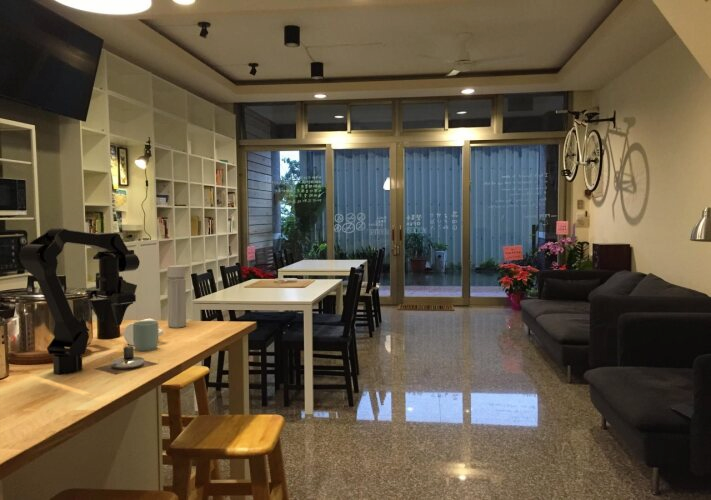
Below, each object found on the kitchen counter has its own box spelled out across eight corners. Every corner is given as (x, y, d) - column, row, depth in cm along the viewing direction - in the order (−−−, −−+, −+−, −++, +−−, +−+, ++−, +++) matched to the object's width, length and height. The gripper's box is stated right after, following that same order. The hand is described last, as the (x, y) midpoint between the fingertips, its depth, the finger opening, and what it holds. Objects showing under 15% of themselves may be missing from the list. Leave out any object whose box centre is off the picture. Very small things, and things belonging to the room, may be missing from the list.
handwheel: (142, 367, 161) (142, 352, 161) (108, 369, 159) (108, 354, 159) (145, 359, 170) (144, 345, 170) (113, 361, 168) (112, 347, 167)
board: (116, 378, 156) (115, 374, 156) (93, 372, 162) (93, 368, 162) (158, 367, 168) (158, 363, 168) (136, 362, 174) (136, 358, 174)
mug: (123, 345, 198) (123, 322, 197) (140, 339, 207) (140, 317, 207) (153, 347, 195) (153, 324, 194) (169, 341, 205) (169, 319, 204)
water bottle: (167, 325, 233) (166, 265, 232) (186, 324, 236) (186, 265, 234) (166, 329, 225) (165, 267, 223) (187, 328, 227) (186, 267, 226)
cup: (150, 355, 182) (149, 325, 182) (128, 354, 184) (128, 324, 183) (163, 350, 190) (162, 320, 190) (142, 349, 192) (141, 320, 191)
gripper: (150, 273, 174) (151, 322, 175) (115, 269, 185) (116, 316, 186) (118, 276, 165) (119, 328, 166) (82, 272, 175) (83, 321, 176)
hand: (110, 323), depth 174 cm, fingers open, 9 cm apart
